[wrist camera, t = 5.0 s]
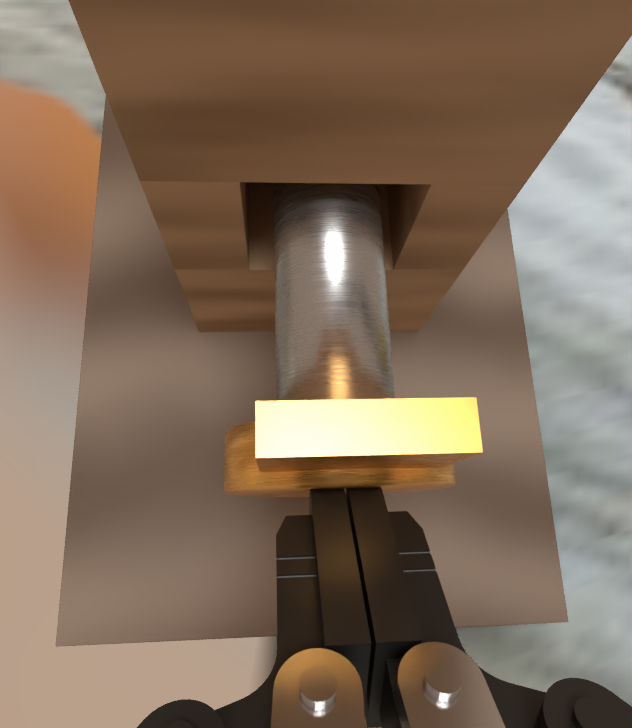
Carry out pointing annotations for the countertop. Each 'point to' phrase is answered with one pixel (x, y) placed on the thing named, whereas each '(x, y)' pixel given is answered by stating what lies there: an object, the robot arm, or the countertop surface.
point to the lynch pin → (340, 366)
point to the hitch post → (257, 284)
